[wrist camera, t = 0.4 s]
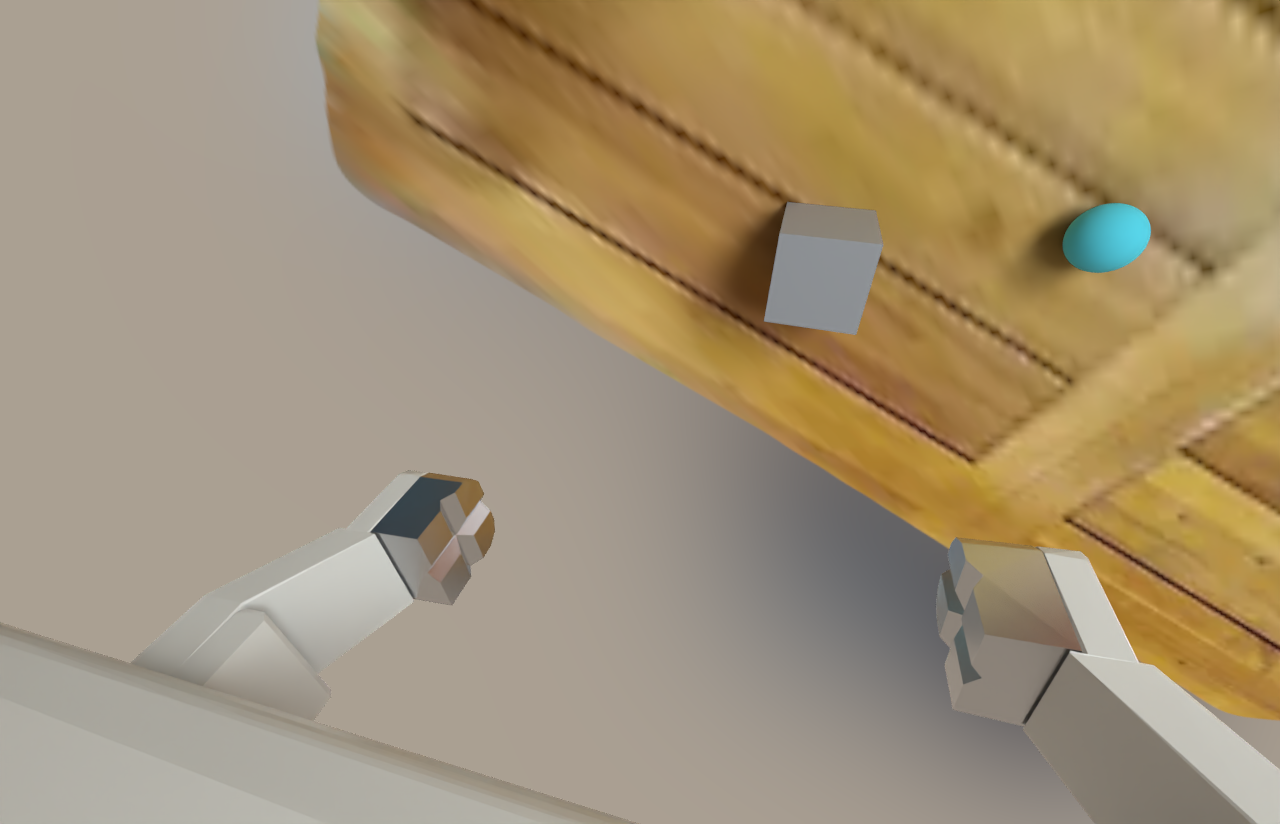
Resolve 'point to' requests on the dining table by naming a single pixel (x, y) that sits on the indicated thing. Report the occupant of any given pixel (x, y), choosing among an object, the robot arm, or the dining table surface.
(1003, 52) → the dining table surface
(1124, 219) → the ball
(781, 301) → the gray cuboid
